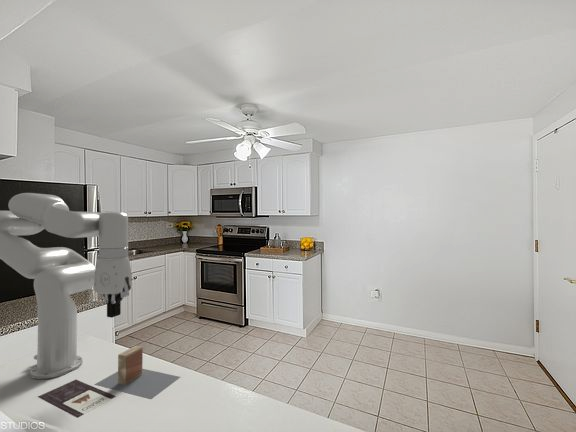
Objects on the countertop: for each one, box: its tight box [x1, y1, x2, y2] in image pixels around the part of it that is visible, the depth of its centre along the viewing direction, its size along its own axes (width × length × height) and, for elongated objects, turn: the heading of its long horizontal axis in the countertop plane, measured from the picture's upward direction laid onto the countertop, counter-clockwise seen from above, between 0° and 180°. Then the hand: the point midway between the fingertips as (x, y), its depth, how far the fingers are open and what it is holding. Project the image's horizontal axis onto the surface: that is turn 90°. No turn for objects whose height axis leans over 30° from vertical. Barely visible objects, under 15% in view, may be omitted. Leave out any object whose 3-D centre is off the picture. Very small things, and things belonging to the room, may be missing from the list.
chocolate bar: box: [37, 379, 117, 418], centre depth 74 cm, size 9×1×18 cm
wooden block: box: [117, 345, 144, 385], centre depth 83 cm, size 3×6×8 cm, turn 161°
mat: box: [94, 368, 181, 400], centre depth 82 cm, size 20×11×1 cm, turn 71°
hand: (113, 315), depth 85 cm, fingers closed
